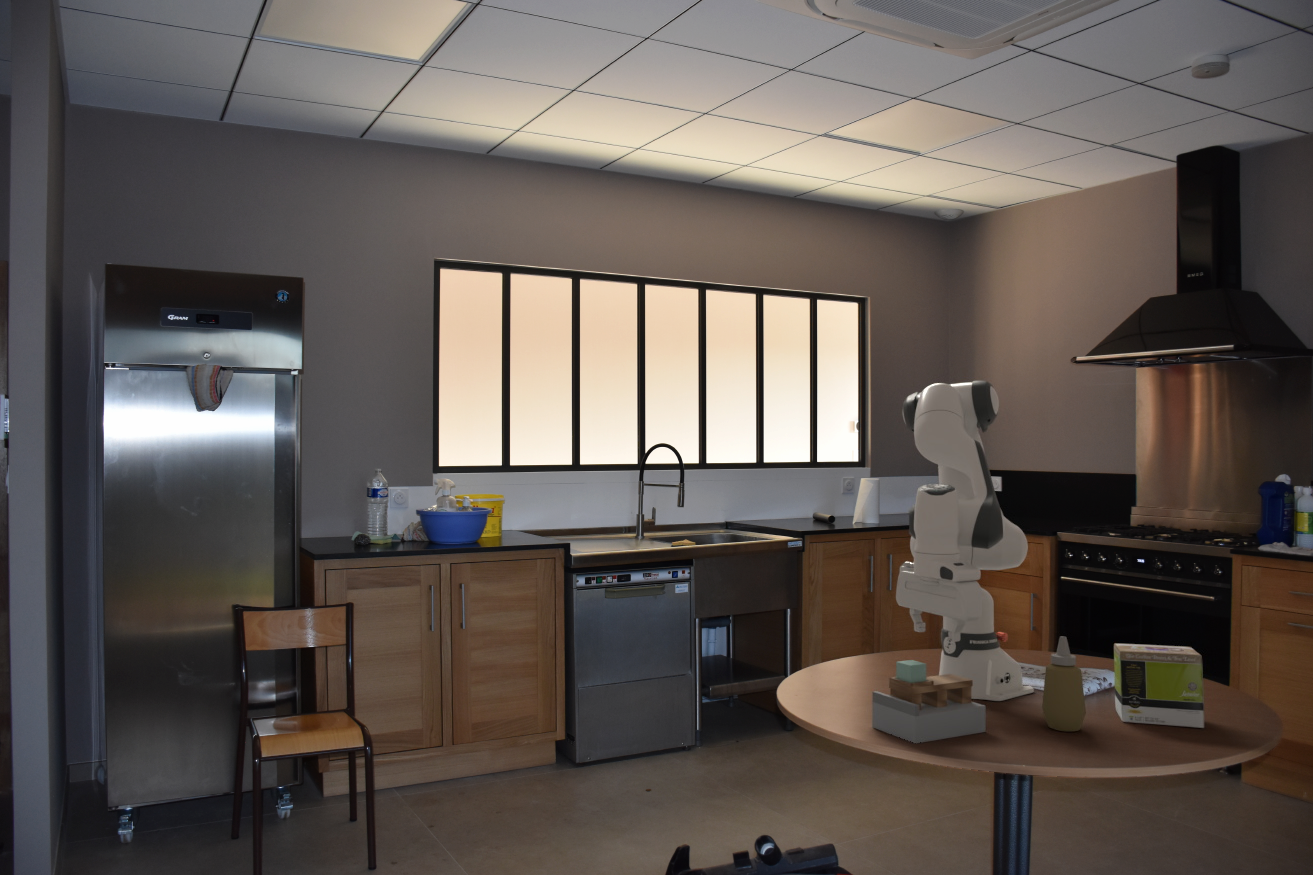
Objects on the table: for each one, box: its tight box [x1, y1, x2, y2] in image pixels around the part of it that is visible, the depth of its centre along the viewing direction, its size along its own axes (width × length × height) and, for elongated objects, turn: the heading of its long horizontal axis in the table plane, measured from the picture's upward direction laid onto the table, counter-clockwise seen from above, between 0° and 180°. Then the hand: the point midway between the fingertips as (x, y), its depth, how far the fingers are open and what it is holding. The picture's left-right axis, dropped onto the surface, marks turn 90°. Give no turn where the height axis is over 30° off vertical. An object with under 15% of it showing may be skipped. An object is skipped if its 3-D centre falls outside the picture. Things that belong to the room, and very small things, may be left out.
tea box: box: [1113, 642, 1205, 729], centre depth 192 cm, size 15×10×15 cm, turn 71°
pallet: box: [888, 674, 973, 710], centre depth 184 cm, size 16×6×5 cm, turn 117°
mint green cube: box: [895, 659, 927, 683], centre depth 182 cm, size 4×4×4 cm
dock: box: [871, 690, 987, 744], centre depth 184 cm, size 18×12×7 cm, turn 117°
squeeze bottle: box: [1041, 636, 1087, 732], centre depth 185 cm, size 8×8×18 cm
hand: (936, 636), depth 185 cm, fingers open, 8 cm apart
